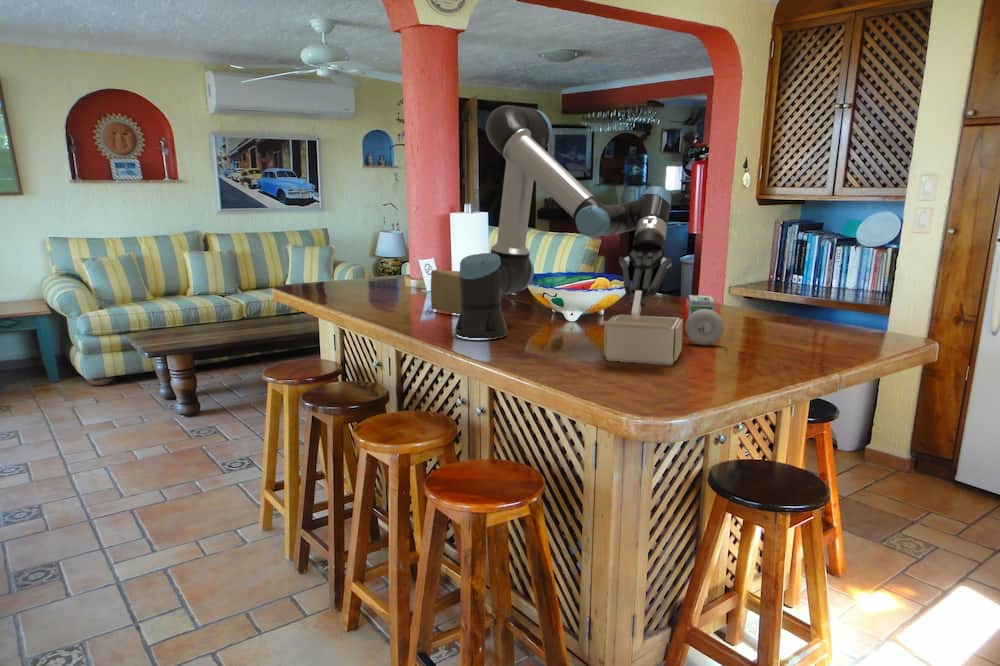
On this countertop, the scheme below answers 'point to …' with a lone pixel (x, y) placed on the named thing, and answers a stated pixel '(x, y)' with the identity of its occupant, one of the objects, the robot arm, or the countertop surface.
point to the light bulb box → (701, 303)
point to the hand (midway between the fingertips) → (635, 316)
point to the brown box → (445, 291)
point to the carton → (644, 341)
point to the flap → (637, 325)
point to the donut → (709, 317)
